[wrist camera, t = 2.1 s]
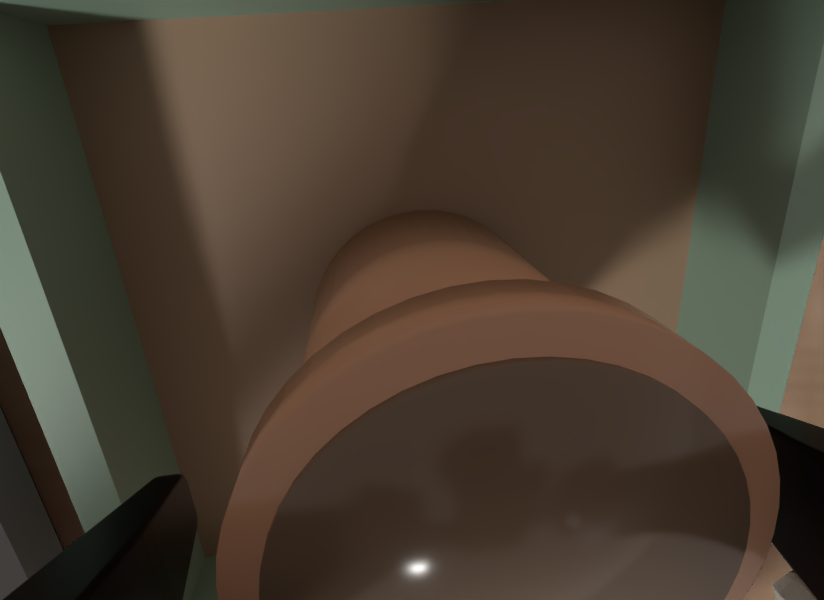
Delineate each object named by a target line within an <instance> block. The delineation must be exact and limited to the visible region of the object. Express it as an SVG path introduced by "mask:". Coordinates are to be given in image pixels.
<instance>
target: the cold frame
mask: <svg viewBox="0 0 824 600" xmlns="http://www.w3.org/2000/svg"><path fill="white" fill-rule="evenodd" d="M418 210H436V211H445V212H451V213H455V214H459V215H463V216H465V217H468V218H470V219H473V220H475V221H477V222H479V223H481V224H482V225H484V226H486V227H488V228H489V229H491V230H492V231H493V232H494V233H496V234H497V235H498V236H499V237H501V238H502V239H503V240H504V241H505V242H506V243H508V244H509V245H510V246H511V247H512V248H513V249H515V250H516V251H517V252H518V253H519V254H520V255H522V256H523V257H524V258H525V259H526V260H527V261H529V262H530V263H531V264H532V265H533V266H534V267H535V268H537V269H538V270H539V271H540V272H541V273H542V274H544V275H545V276H546V277H547V278H548V279H549V280H551V281H552V282H562V283H567V284H571V285H575V286H579V287H584V288H588V289H592V290H597V291H599V292H602V293H604V294H607V295H609V296H612V297H614V298H617V299H619V300H622V301H625V302H627V303H629V304H631V305H632V306H634V307H636V308H638V309H639V310H641V311H643V312H644V313H646V314H648V315H650V316H651V317H653V318H655V319H656V320H658V321H659V322H660V323H662V324H663V325H665V326H666V327H668V328H669V329H671V330H672V331H674V332H675V333H676V334H678V335H679V336H681V337H682V338H684V339H685V340H687V341H688V342H689V343H691V344H692V345H694V346H695V347H697V348H698V349H700V350H701V351H703V352H704V353H705V354H707V355H708V356H709V357H711V358H712V359H713V360H714V361H715V362H717V363H718V364H719V365H720V366H722V367H723V368H724V369H725V370H726V371H728V372H729V373H730V374H731V375H732V376H733V377H734V378H735V379H736V380H737V381H738V383H739V384H740V385H741V386H742V387H743V388H744V390H745V391H746V392H747V393H748V394H749V396H750V397H751V398H752V399H753V401H754V403H755V404H756V406H759V407H762V408H765V409H768V410H771V411H774V412H777V413H779V412H780V408H781V404H782V400H783V396H784V392H785V388H786V384H787V380H788V376H789V372H790V368H791V364H792V360H793V356H794V352H795V348H796V344H797V340H798V336H799V332H800V328H801V324H802V320H803V316H804V312H805V308H806V304H807V300H808V296H809V292H810V288H811V284H812V280H813V276H814V272H815V268H816V264H817V260H818V256H819V252H820V248H821V244H822V240H823V236H824V0H0V328H1V330H2V333H3V335H4V337H5V340H6V342H7V345H8V347H9V350H10V352H11V355H12V357H13V359H14V362H15V364H16V367H17V369H18V372H19V374H20V376H21V379H22V381H23V384H24V386H25V389H26V391H27V394H28V396H29V398H30V401H31V403H32V406H33V408H34V411H35V413H36V415H37V418H38V420H39V423H40V425H41V428H42V430H43V432H44V435H45V437H46V440H47V442H48V445H49V447H50V450H51V452H52V454H53V457H54V459H55V462H56V464H57V467H58V469H59V471H60V474H61V476H62V479H63V481H64V484H65V486H66V489H67V491H68V493H69V496H70V498H71V501H72V503H73V506H74V508H75V510H76V513H77V515H78V518H79V520H80V523H81V525H82V527H83V530H84V532H85V533H86V532H87V531H88V530H90V529H91V528H92V527H93V526H95V525H96V524H97V523H98V522H100V521H101V520H102V519H103V518H105V517H106V516H107V515H108V514H110V513H111V512H112V511H113V510H115V509H116V508H117V507H118V506H120V505H121V504H122V503H123V502H125V501H126V500H127V499H128V498H130V497H131V496H132V495H133V494H135V493H136V492H137V491H138V490H140V489H141V488H142V487H143V486H145V485H146V484H147V483H148V482H150V481H151V480H152V479H154V478H155V477H158V476H163V475H171V474H183V475H184V476H185V477H186V478H187V480H188V483H189V487H190V490H191V494H192V497H193V501H194V504H195V507H196V511H197V516H198V526H197V532H196V537H195V542H194V547H193V552H192V557H191V562H190V567H189V572H188V577H187V582H186V587H185V592H184V597H183V600H219V598H218V593H217V588H216V554H217V549H218V543H219V537H220V531H221V526H222V523H223V520H224V516H225V513H226V510H227V507H228V504H229V501H230V498H231V495H232V491H233V488H234V485H235V482H236V479H237V476H238V473H239V470H240V467H241V463H242V461H243V458H244V455H245V452H246V450H247V447H248V444H249V441H250V438H251V436H252V434H253V432H254V430H255V428H256V426H257V425H258V423H259V421H260V419H261V417H262V415H263V414H264V412H265V410H266V408H267V407H268V405H269V404H270V403H271V401H272V400H273V399H274V397H275V396H276V395H277V393H278V392H279V391H280V389H281V388H282V387H283V385H284V384H285V383H286V381H287V380H288V379H289V378H290V377H291V376H292V375H293V374H294V373H295V372H296V371H297V370H298V369H299V368H300V367H301V366H302V363H303V358H304V353H305V348H306V343H307V339H308V334H309V329H310V324H311V319H312V314H313V309H314V305H315V300H316V295H317V290H318V287H319V285H320V282H321V279H322V277H323V275H324V273H325V271H326V269H327V267H328V265H329V263H330V262H331V261H332V259H333V258H334V257H335V255H336V254H337V252H338V251H339V250H340V249H341V248H342V247H343V246H344V245H345V244H346V243H347V242H348V241H349V240H350V239H351V238H353V237H354V236H355V235H356V234H358V233H359V232H360V231H362V230H363V229H365V228H367V227H368V226H370V225H372V224H373V223H375V222H378V221H380V220H382V219H385V218H387V217H390V216H393V215H397V214H400V213H405V212H411V211H418Z"/></svg>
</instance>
